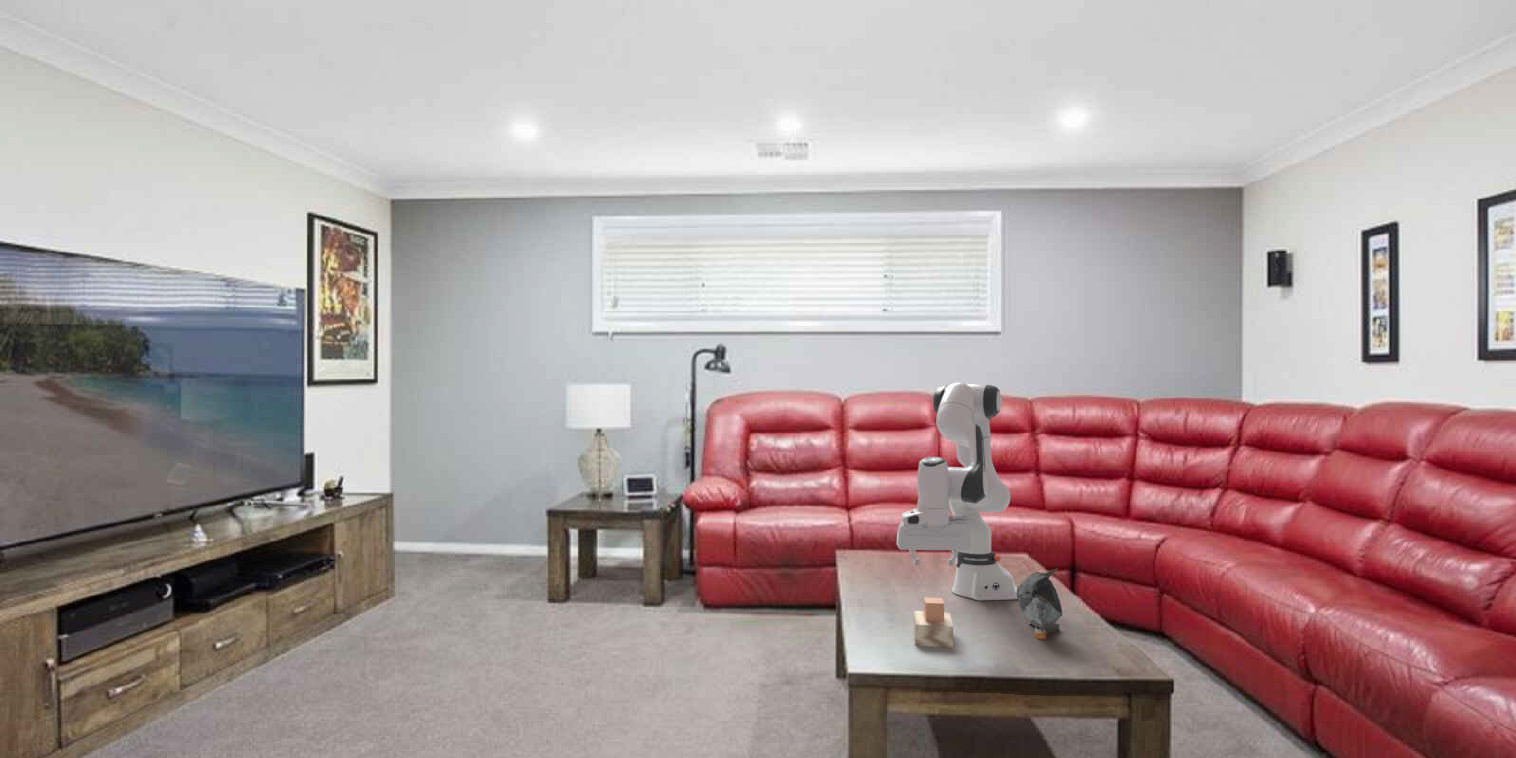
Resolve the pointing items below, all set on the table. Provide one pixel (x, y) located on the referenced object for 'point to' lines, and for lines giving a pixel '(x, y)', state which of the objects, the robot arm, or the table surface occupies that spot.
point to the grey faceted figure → (1040, 603)
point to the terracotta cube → (934, 609)
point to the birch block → (933, 631)
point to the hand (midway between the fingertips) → (933, 565)
